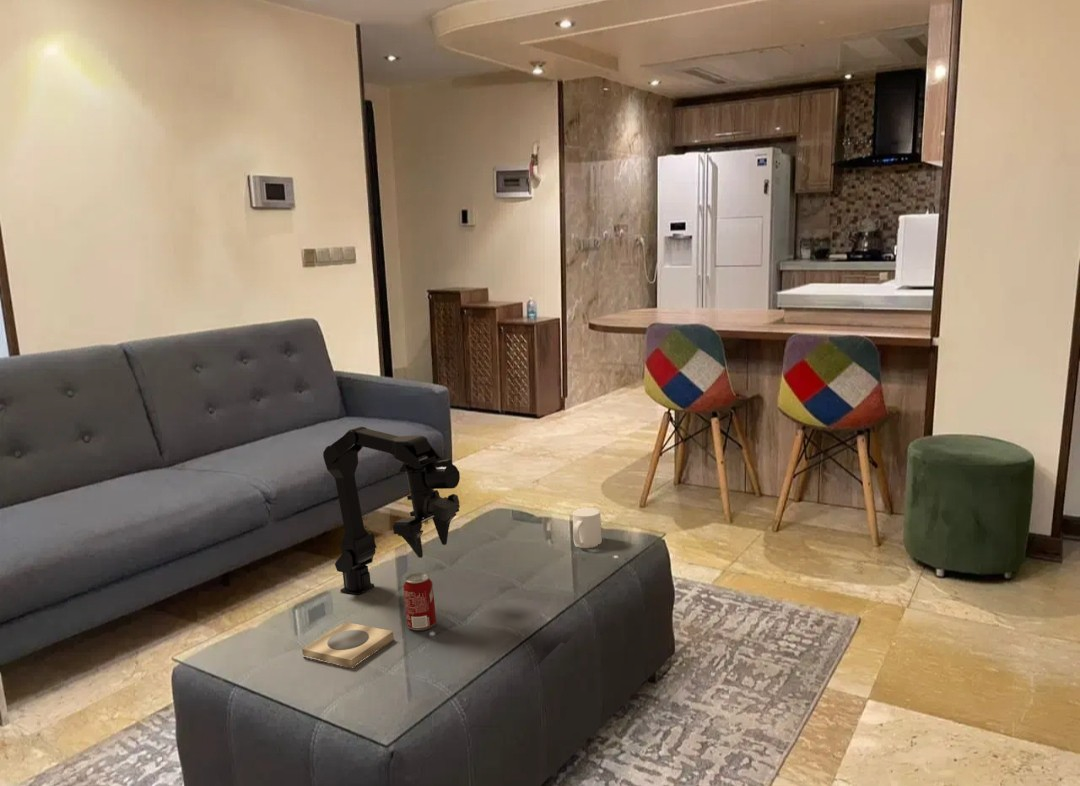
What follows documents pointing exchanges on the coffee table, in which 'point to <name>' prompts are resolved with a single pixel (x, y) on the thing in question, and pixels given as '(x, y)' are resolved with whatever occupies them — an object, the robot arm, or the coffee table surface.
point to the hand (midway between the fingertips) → (432, 550)
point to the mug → (586, 527)
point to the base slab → (348, 644)
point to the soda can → (419, 602)
